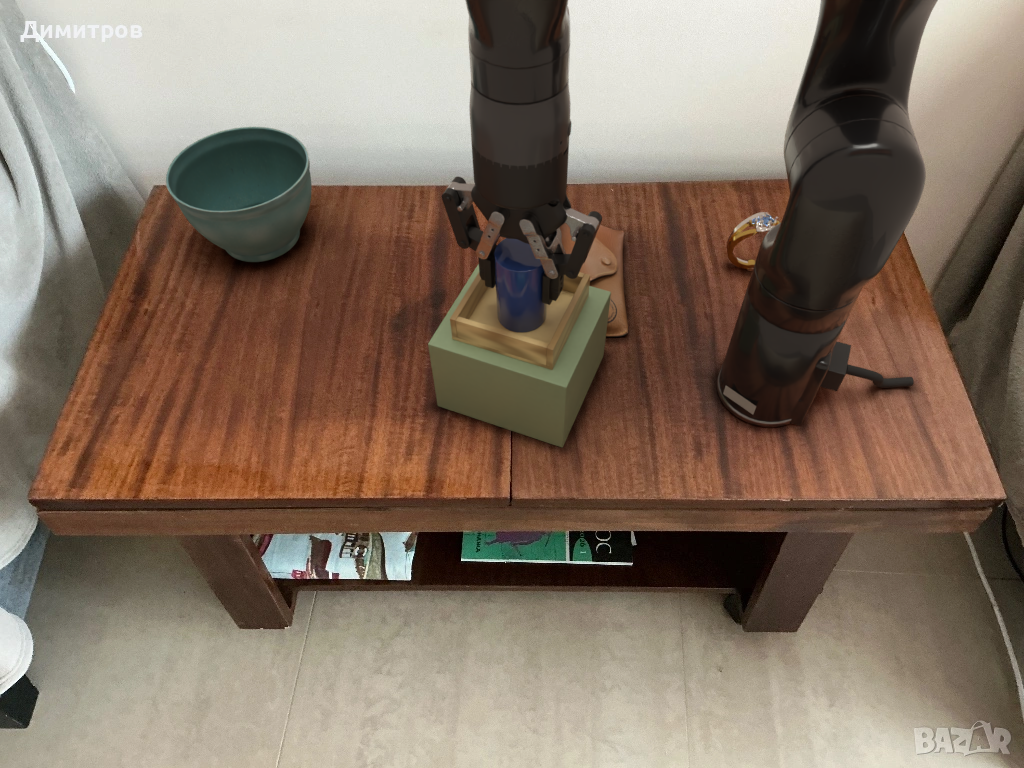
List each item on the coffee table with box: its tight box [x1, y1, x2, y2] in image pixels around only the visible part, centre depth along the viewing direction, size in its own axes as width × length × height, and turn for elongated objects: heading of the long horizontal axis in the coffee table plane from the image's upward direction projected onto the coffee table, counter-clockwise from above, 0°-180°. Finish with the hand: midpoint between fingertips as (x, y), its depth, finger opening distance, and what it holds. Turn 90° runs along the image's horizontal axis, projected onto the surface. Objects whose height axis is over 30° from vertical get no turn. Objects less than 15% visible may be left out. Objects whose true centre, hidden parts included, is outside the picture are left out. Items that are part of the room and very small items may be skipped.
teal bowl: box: [165, 126, 313, 263], centre depth 94 cm, size 16×16×11 cm
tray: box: [450, 272, 590, 370], centre depth 74 cm, size 10×10×3 cm
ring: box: [726, 211, 782, 272], centre depth 90 cm, size 7×3×8 cm, turn 86°
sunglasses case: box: [560, 223, 629, 338], centre depth 91 cm, size 18×7×7 cm
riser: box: [427, 263, 611, 448], centre depth 79 cm, size 14×13×10 cm
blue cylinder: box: [494, 238, 547, 333], centre depth 72 cm, size 5×5×8 cm
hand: (521, 289), depth 72 cm, fingers open, 5 cm apart
